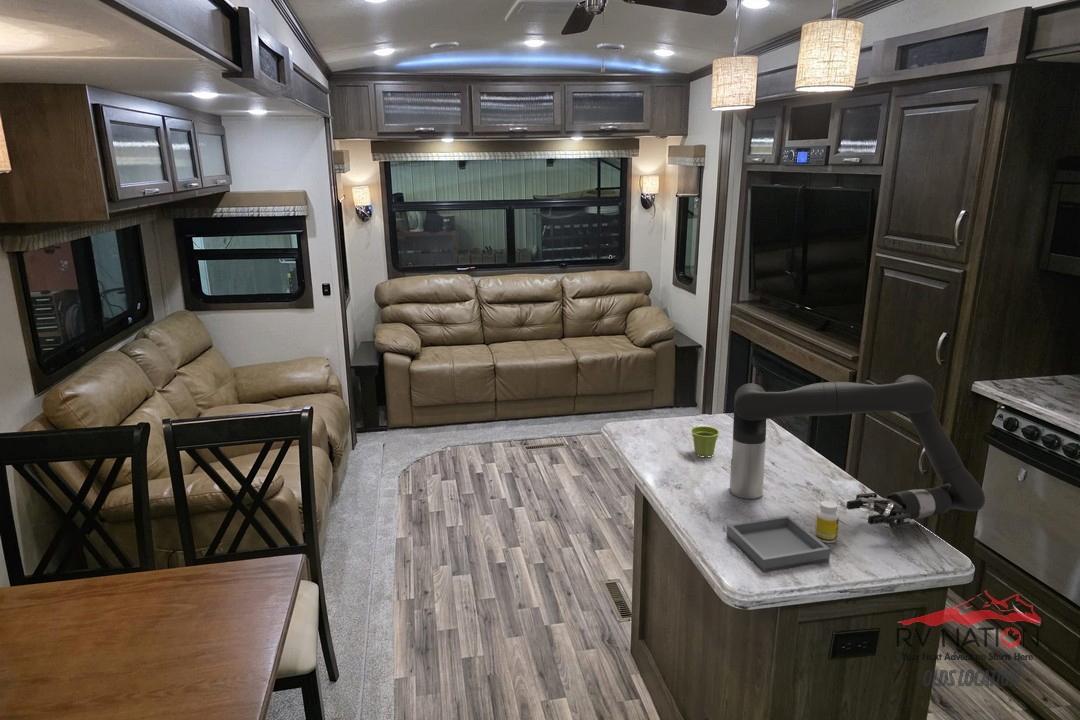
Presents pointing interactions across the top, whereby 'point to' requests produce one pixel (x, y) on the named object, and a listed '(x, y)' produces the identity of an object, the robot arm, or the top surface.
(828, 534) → the supplement bottle
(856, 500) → the robot arm
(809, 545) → the bin
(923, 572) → the top surface
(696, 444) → the plant pot
